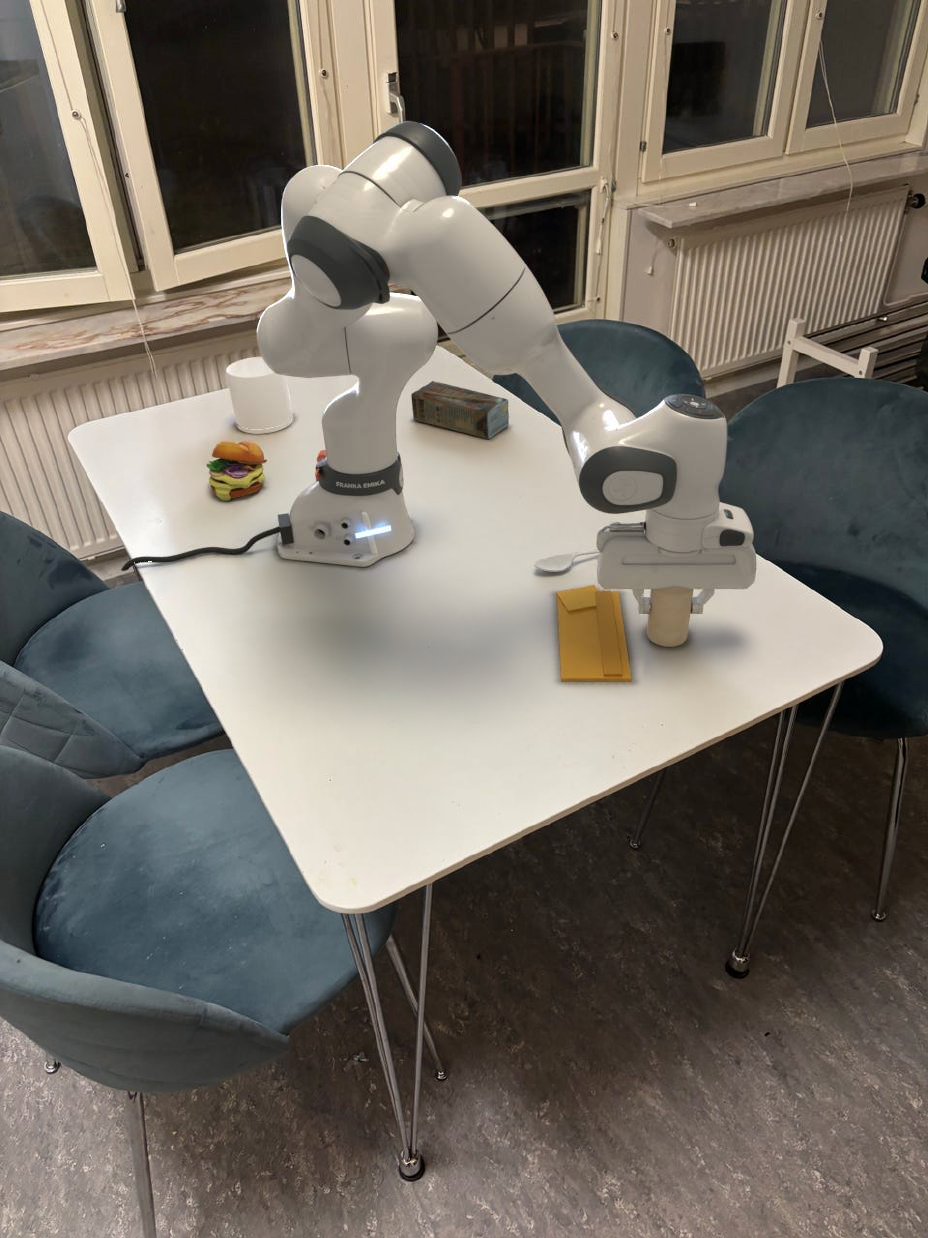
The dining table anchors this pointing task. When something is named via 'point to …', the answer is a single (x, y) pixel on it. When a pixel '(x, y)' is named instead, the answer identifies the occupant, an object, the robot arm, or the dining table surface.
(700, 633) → the dining table surface
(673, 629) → the candle
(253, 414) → the cup
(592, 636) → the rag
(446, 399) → the beverage carton
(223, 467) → the cheeseburger
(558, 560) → the spoon
